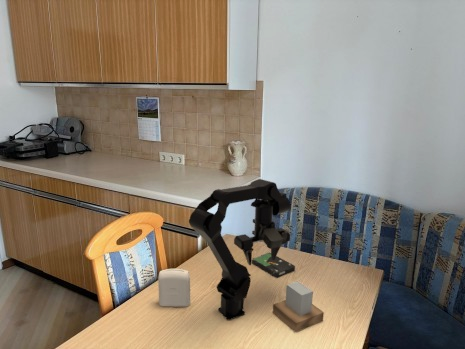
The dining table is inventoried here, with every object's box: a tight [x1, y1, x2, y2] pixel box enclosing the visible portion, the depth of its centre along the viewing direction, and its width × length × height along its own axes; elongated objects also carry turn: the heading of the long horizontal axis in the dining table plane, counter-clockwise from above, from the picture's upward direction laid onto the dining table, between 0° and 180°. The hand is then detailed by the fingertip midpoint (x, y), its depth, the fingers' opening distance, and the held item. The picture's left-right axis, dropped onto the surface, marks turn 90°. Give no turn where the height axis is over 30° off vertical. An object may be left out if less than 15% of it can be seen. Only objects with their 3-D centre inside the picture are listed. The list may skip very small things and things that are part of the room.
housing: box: [285, 280, 314, 316], centre depth 110 cm, size 7×4×7 cm, turn 31°
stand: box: [272, 299, 325, 333], centre depth 111 cm, size 11×11×3 cm
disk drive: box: [251, 252, 296, 279], centre depth 143 cm, size 10×3×15 cm
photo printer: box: [157, 268, 191, 308], centre depth 115 cm, size 10×4×12 cm, turn 89°
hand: (261, 262), depth 119 cm, fingers open, 9 cm apart
